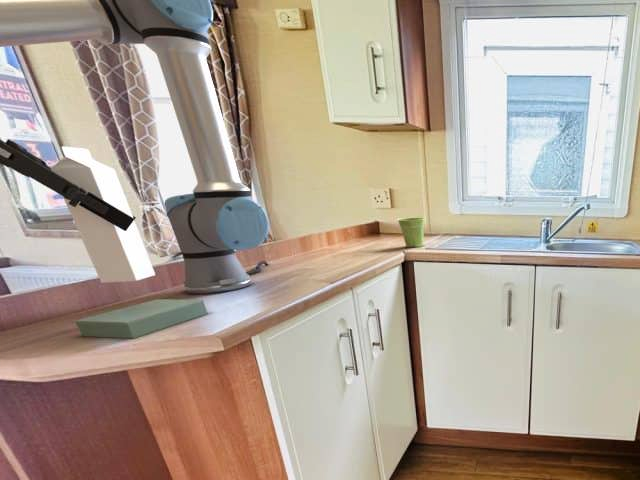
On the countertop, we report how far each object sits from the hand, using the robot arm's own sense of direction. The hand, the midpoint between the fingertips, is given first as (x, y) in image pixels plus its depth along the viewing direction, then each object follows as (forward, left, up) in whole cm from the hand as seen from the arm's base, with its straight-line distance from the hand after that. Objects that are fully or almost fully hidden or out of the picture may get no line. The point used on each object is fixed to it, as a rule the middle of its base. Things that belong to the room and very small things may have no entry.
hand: (130, 224), depth 78 cm
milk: (+3, -2, -10) cm, 10 cm away
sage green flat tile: (+2, -2, -19) cm, 19 cm away
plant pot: (-111, +6, -19) cm, 112 cm away
